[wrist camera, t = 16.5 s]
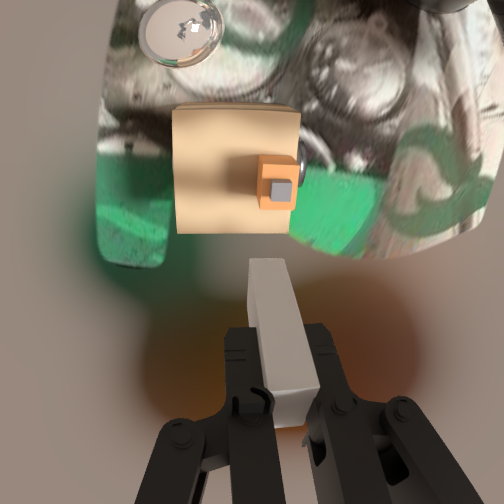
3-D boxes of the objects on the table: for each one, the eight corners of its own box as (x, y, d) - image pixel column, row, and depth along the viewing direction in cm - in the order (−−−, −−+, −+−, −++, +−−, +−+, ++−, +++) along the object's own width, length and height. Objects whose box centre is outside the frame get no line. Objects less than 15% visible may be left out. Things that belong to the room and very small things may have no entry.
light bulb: (186, 2, 23) (168, -32, 13) (237, 34, 26) (245, 12, 16) (146, 50, 26) (108, 40, 16) (196, 82, 29) (182, 85, 19)
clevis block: (183, 102, 30) (172, 110, 23) (283, 104, 31) (300, 113, 24) (185, 202, 36) (177, 233, 30) (275, 202, 37) (288, 233, 31)
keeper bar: (258, 154, 26) (264, 167, 23) (292, 155, 26) (302, 169, 23) (256, 196, 28) (261, 214, 25) (287, 196, 29) (297, 215, 25)
